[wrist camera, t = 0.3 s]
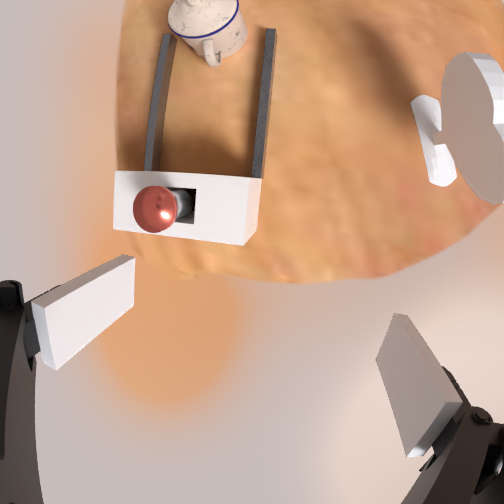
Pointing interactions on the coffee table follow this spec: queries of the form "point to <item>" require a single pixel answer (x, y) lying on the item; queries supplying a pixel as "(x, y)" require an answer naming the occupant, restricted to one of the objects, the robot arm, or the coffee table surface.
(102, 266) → the robot arm
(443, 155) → the heart sculpture
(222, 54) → the teacup with lid
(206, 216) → the end cabinet
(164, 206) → the red knob
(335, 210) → the coffee table surface
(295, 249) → the coffee table surface
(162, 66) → the pair of grey rails
